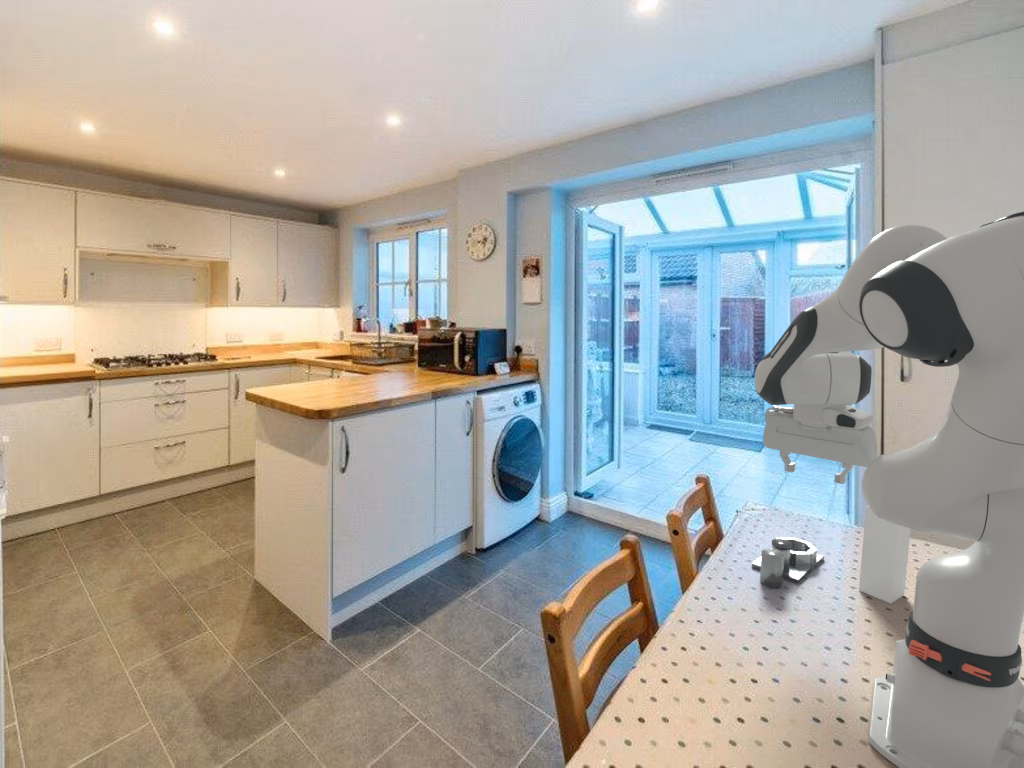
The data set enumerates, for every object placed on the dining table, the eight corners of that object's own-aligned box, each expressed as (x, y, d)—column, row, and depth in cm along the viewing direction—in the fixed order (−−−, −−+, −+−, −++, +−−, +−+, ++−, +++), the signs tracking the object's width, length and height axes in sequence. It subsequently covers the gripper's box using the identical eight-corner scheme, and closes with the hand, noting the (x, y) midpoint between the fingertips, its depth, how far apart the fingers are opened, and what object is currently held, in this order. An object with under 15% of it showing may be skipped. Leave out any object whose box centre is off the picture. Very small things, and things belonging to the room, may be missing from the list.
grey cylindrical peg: (777, 591, 106) (779, 560, 105) (756, 583, 110) (758, 553, 109) (785, 583, 109) (787, 553, 108) (765, 576, 113) (766, 546, 112)
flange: (797, 583, 109) (799, 555, 108) (751, 566, 117) (753, 540, 116) (823, 559, 119) (825, 533, 118) (779, 545, 127) (781, 520, 126)
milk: (858, 591, 106) (865, 491, 103) (872, 582, 109) (879, 485, 106) (891, 604, 101) (900, 500, 98) (905, 595, 104) (914, 494, 101)
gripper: (759, 407, 107) (755, 468, 109) (872, 422, 91) (866, 494, 93) (771, 402, 111) (768, 462, 113) (882, 416, 95) (876, 485, 97)
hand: (813, 476), depth 103 cm, fingers open, 8 cm apart
